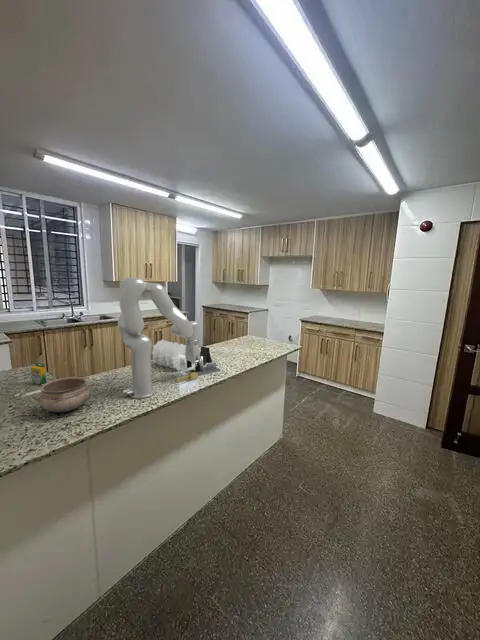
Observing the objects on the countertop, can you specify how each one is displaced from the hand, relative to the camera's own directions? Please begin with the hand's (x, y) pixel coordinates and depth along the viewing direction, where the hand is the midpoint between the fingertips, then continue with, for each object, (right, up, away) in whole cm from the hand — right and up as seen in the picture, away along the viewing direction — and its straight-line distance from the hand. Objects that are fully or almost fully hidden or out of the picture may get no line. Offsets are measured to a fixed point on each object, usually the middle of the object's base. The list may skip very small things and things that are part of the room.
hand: (193, 369), depth 162 cm
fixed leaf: (+7, -3, +16) cm, 18 cm away
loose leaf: (-4, -6, -2) cm, 7 cm away
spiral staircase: (-18, -2, +20) cm, 27 cm away
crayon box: (-84, -6, -12) cm, 85 cm away
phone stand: (+3, -1, +29) cm, 30 cm away
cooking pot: (-51, -11, -39) cm, 65 cm away
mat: (+4, -4, +13) cm, 14 cm away
